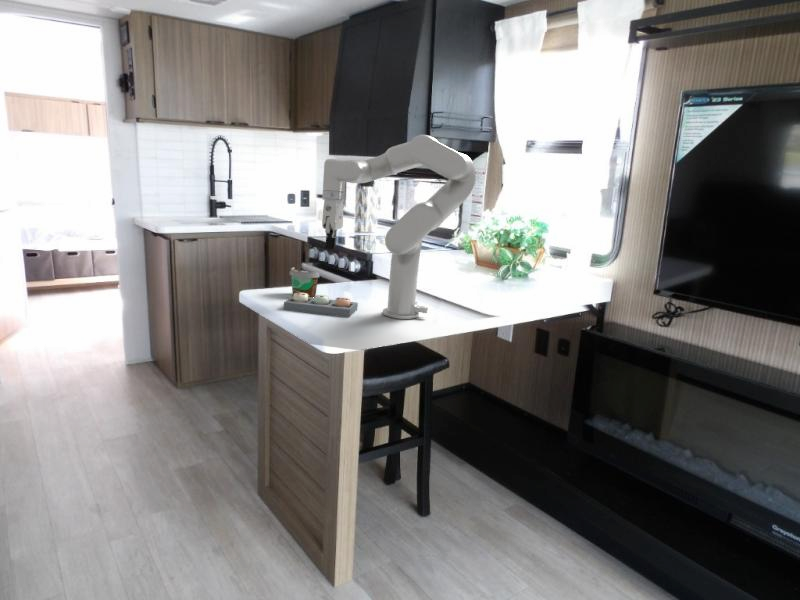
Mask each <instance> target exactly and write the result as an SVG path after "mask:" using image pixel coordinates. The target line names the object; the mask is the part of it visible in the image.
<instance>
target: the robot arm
mask: <svg viewBox="0 0 800 600" xmlns="http://www.w3.org/2000/svg"><path fill="white" fill-rule="evenodd" d="M422 166H423V167H425V168H427V169H429V170H431V171H433V172H435V173H436V174H438V175H439V176H442V177H444V178H445V179H448V180H447V181H446V183H444V184H443V185H442V186H441V187H440V188H439V189H438V190H436V192H435V193H434V194H433V195H432V196H431V197H429V199H427V200H426V201H424V202H419V203H417V204H415V205H413V207H411V208H410V209H409V210H407V211H406V213H405V214H404V215H402V216H401V218H400V219H398V221H397V222H396V223H395V224H393V225H392V226H391V227H390V228H389V229H388V230H387V232H386V234H385V238H384V243H385V246H386V248H387V250H388V251H389V252H390V253H391V257H390V258H391V259H390V270H389V280H388V282H389V283H388V284H389V285H388V295H387V297H388V298H387V307H385V308H384V309H382V315H384V316H386V317H389V318H393V319H398V320H399V319H400V320H413V319H417V318H418V317H419V315H420V313H422V314H428V310H429V309H428V307H425V306H422V305H419V304H418V302H417V301H416V299H417V286H418V285H417V283H418V273H419V265H420V257H421V251H422V246H423V245H422V244H423V239H424V238H425V237H426V236H427V235H428V234H430V232H432V231H435V230H436V229H438V228H439V227H440V226H441V225H442V224H443V223H444V222H445V220H446V219H448V218H449V217H450V216H451V215H452V214H453V213H454V212H455V211H456V209H458V208H459V207H460V206H461V205H462V204H463V203H464V202H465V201H466V200H467V199H468V197H469V196H470V195H471V193H472V192H473V189H474V187H475V184H476V177H477V176H476V175H477V174H476V167H475V165H474V162H473V160H472V159H471V157H469V156H468V155H467V154H464V153H462V152H458V151H457V150H455V149H453V148H450V147H449V146H446V145H445V144H443V143H441V142H439V141H438V139H436V138H435V137H434V136H431V135H428V134H418V135H417V136H415V137H414V138H413V139H411V141H408V142H407V141H406V142H404V143H400V144H397V145H394V146H391V147H389V148H387V150H386V151H385V152H384V153H382V154H380V155H378V156H375V157H372V158H369V159H365V160H355V159H354V160H353V159H352V160H350V159H349V160H342V159H335V158H334V159H333V158H328V159H325V160H324V164H323V180H322V181H323V182H322V183H323V184H322V198H321V199H322V200H323V201H324V203H323V208H322V222H321V225H322V229H324V234H325V250H327V249H328V250H335V249H336V246H337V245H336V244H337V233H338V230H340V229H342V228H344V227H343V226H344V202H345V194H346V193H345V191H346V183H349V184H365V183H366V184H367V183H369V182H372V181H377V180H379V179H384V178H386V177H390V176H392V175H396V174H398V173H401V172H406V171H408V170H409V171H410V170H411V169H415V168H418V167H422Z"/></svg>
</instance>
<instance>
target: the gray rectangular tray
mask: <svg viewBox="0 0 800 600" xmlns="http://www.w3.org/2000/svg"><path fill="white" fill-rule="evenodd" d="M293 298H294V296H293V295H292V297H290V298H288V299H287V300H285V301H284V302H283V310H284V309H285V310H286V311H293V310H294V311H293V312H301V311H303V312H304V313H309V312H310V313H309V314H318V313H320V314H319V315H326V314H328V315H329V316H335V315H337V317H343V316H344V317H345V318H350V317H352V315H354V314H355V313H356V312H357V311H358V306H359V303H358V302H355V301H350V307H349V308H347V307H339V306H335V301H336V299H331V298H329V304H328V305H321V304H314V298H313V297H308V302H307V303H304V302H296V301H293ZM285 310H284V311H285ZM355 311H356V312H355ZM328 315H327V316H328Z"/></svg>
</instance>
